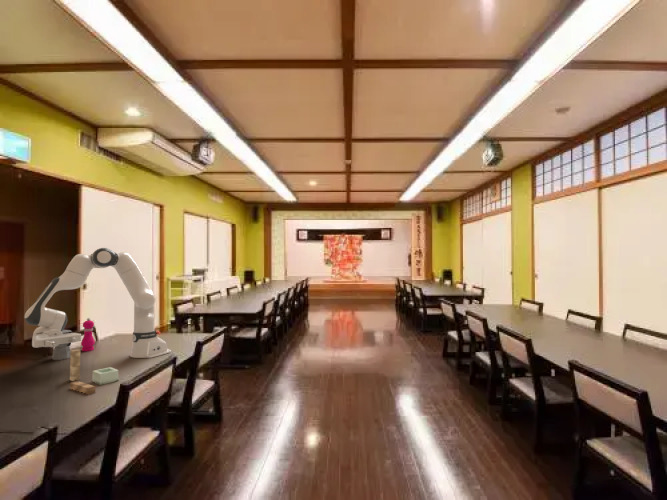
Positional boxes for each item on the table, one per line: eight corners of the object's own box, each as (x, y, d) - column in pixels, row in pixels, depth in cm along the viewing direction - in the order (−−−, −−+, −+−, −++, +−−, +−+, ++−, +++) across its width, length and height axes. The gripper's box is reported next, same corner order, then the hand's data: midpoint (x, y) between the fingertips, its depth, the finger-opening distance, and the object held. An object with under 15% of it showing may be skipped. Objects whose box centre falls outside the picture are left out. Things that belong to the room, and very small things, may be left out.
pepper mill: (88, 351, 238) (88, 319, 238) (77, 351, 240) (78, 318, 240) (97, 349, 245) (98, 317, 246) (87, 348, 247) (88, 316, 247)
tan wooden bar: (70, 389, 173) (70, 382, 173) (77, 387, 175) (77, 381, 175) (88, 395, 166) (88, 388, 166) (95, 393, 168) (95, 386, 168)
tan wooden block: (76, 378, 187) (77, 349, 187) (79, 379, 185) (80, 350, 185) (69, 380, 185) (70, 350, 185) (72, 381, 183) (73, 351, 183)
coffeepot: (45, 358, 221) (46, 326, 222) (62, 354, 230) (63, 324, 230) (63, 361, 215) (64, 329, 216) (80, 357, 224) (80, 326, 224)
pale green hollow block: (110, 377, 189) (110, 367, 189) (118, 380, 185) (118, 370, 185) (92, 381, 183) (92, 370, 183) (100, 385, 178) (100, 374, 178)
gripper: (74, 340, 208) (86, 345, 200) (28, 347, 192) (39, 352, 184) (75, 329, 208) (87, 332, 200) (29, 334, 192) (39, 339, 184)
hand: (63, 342), depth 192 cm, fingers open, 8 cm apart
